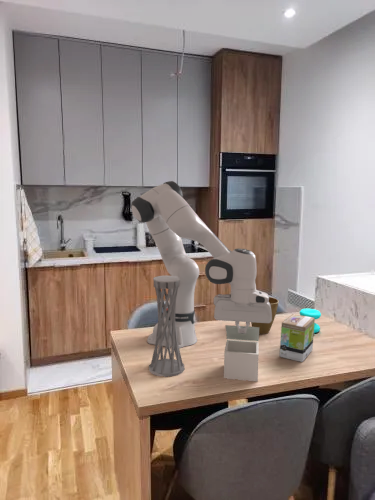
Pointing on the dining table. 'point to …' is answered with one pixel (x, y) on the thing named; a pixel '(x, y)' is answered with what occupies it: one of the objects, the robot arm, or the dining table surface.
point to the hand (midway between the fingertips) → (242, 333)
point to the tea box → (297, 337)
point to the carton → (241, 360)
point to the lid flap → (250, 335)
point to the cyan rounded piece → (314, 314)
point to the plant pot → (266, 327)
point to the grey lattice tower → (165, 365)
